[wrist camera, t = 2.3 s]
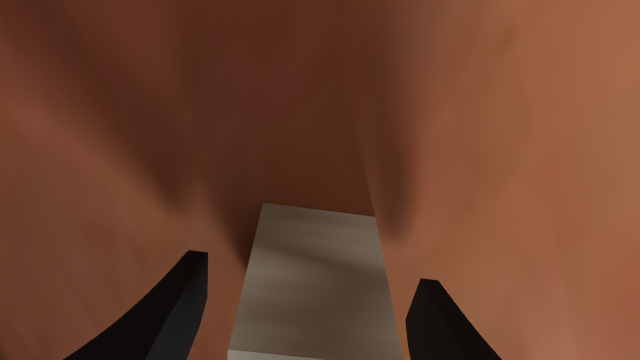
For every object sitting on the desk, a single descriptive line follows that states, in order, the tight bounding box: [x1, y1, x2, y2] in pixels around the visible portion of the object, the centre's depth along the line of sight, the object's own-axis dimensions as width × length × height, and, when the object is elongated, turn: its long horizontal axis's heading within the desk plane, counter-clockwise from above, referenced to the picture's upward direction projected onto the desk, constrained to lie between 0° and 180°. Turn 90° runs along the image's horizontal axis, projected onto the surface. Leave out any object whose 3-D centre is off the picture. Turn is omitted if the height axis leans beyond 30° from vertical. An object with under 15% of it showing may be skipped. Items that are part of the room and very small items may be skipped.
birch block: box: [227, 203, 403, 360], centre depth 13 cm, size 4×4×6 cm
